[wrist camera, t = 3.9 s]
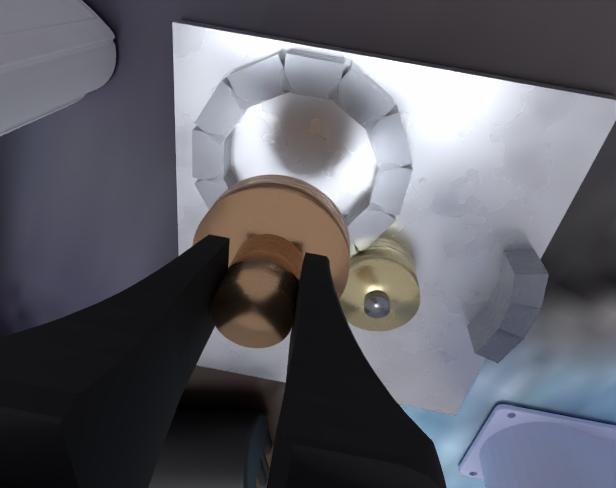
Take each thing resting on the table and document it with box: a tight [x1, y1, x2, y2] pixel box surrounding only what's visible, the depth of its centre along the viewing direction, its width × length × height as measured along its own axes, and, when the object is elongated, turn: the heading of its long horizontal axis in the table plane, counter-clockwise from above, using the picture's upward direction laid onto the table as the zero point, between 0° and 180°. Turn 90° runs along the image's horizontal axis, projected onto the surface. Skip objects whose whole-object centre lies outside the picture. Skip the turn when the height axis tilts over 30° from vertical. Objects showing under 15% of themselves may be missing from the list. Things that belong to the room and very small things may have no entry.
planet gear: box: [192, 174, 350, 348], centre depth 13 cm, size 5×5×4 cm
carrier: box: [172, 20, 616, 415], centre depth 22 cm, size 18×20×4 cm
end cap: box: [148, 409, 272, 488], centre depth 30 cm, size 10×7×7 cm
